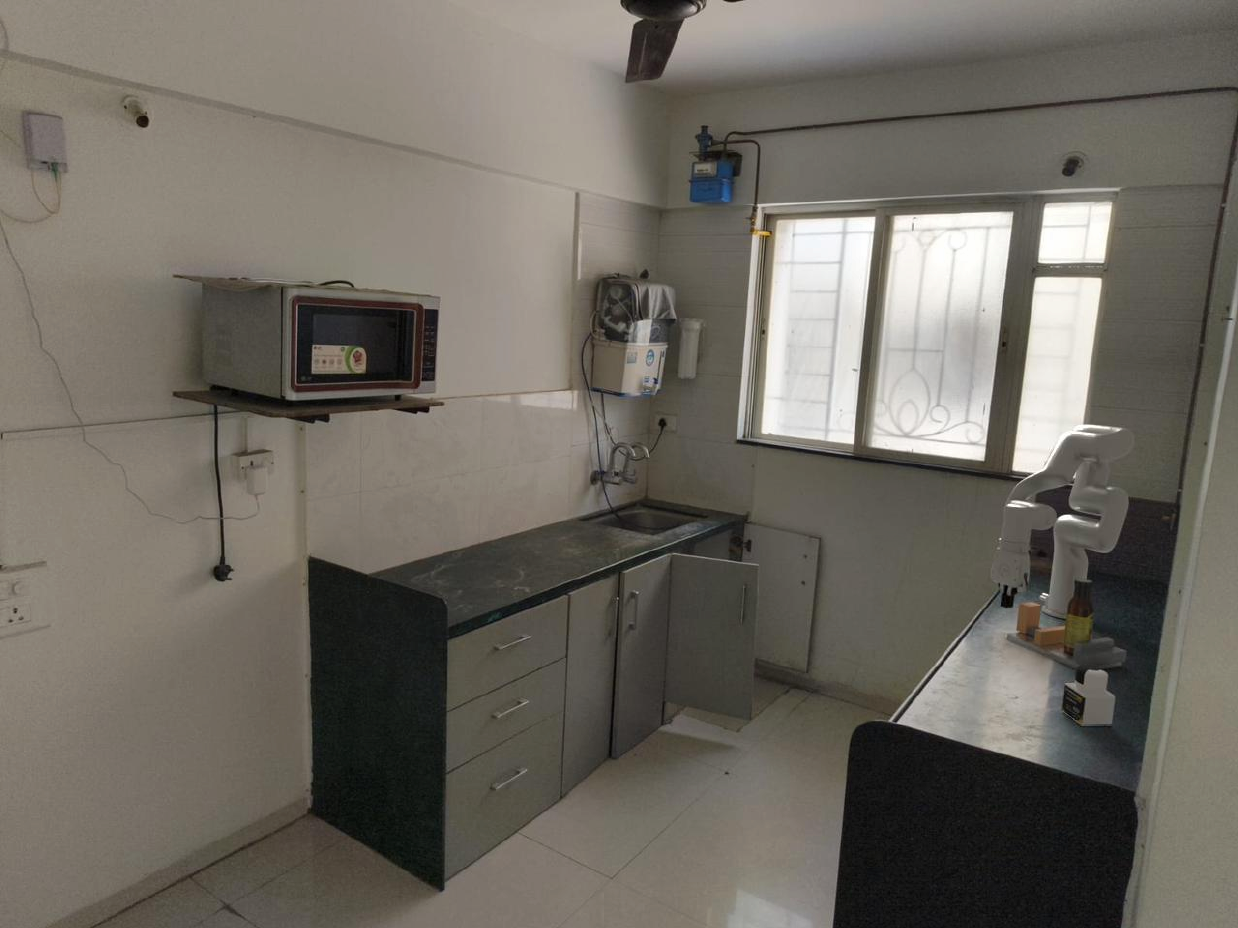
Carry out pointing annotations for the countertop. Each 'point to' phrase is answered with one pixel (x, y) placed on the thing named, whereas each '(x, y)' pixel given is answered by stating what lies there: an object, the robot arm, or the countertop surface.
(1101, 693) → the medicine bottle
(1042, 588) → the countertop surface
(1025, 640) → the vise base
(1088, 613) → the sauce bottle
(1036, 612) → the sliding jaw
